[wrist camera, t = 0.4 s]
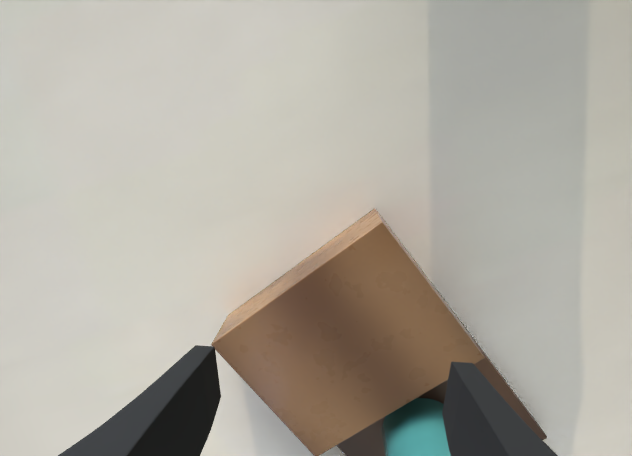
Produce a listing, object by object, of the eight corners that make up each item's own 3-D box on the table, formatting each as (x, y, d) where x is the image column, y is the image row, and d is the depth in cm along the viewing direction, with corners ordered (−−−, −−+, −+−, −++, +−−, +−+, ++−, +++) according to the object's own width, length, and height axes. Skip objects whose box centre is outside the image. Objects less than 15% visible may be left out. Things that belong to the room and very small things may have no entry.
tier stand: (397, 503, 25) (406, 555, 22) (227, 315, 22) (210, 344, 19) (540, 427, 23) (572, 473, 20) (374, 207, 20) (382, 221, 17)
